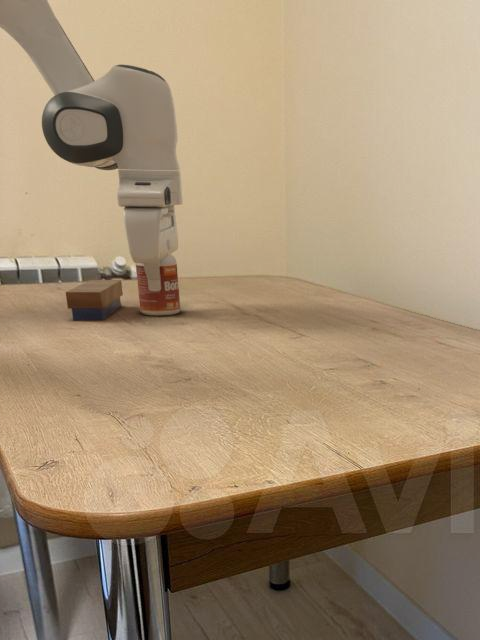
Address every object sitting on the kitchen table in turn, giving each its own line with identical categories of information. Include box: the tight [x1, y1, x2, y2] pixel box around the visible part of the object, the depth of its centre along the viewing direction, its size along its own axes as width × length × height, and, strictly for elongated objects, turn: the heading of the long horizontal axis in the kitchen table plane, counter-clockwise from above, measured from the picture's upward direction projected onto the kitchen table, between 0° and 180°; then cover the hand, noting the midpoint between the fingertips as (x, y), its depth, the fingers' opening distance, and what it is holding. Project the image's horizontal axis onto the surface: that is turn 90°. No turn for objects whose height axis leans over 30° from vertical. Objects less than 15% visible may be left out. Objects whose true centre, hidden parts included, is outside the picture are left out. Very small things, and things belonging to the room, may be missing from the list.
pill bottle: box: [135, 240, 181, 317], centre depth 110 cm, size 6×6×11 cm
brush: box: [65, 279, 124, 321], centre depth 110 cm, size 13×5×4 cm, turn 4°
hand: (160, 287), depth 110 cm, fingers closed on pill bottle, 6 cm apart
